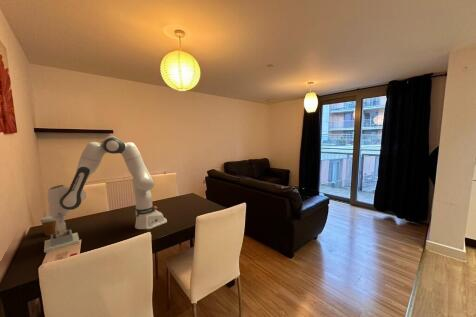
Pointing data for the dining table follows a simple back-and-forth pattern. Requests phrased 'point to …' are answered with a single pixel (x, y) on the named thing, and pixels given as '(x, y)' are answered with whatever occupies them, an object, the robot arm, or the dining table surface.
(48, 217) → the disposable coffee cup
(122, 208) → the dining table surface
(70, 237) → the chute mount
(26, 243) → the dining table surface
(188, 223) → the dining table surface
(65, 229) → the chute block
